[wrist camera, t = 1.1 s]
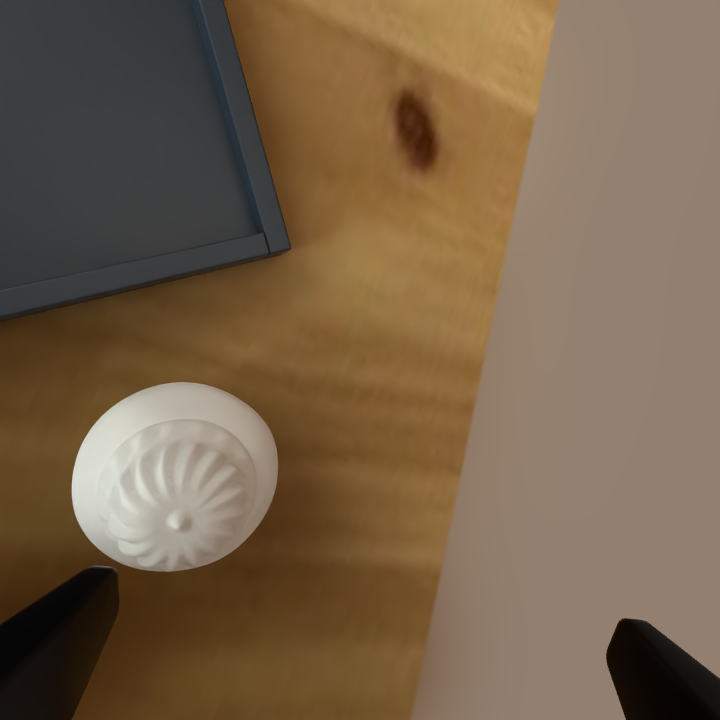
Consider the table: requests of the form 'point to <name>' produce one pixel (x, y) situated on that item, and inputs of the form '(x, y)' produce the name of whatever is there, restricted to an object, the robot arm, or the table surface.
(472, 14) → the table surface
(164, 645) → the table surface
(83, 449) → the muffin
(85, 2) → the tray
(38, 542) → the table surface
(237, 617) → the table surface
